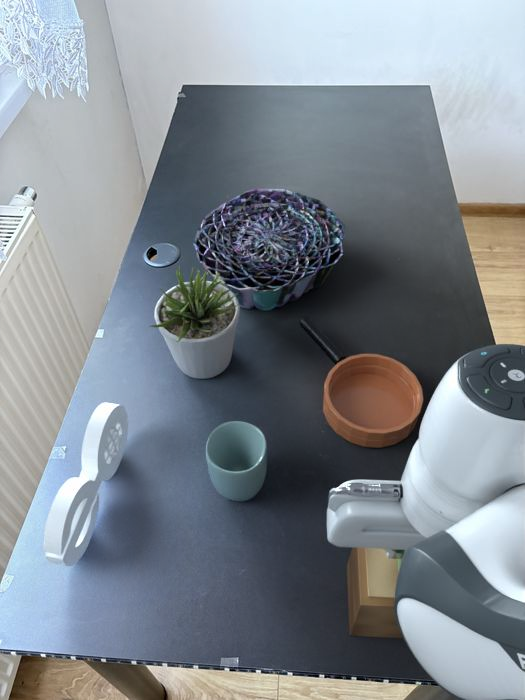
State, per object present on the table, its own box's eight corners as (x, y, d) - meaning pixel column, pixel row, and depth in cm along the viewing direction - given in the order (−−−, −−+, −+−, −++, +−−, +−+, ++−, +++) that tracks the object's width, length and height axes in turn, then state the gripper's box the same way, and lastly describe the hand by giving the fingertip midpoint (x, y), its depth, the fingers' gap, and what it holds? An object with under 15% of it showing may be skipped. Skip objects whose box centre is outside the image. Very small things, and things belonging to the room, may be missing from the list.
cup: (219, 454, 86) (214, 415, 78) (272, 463, 85) (272, 425, 77) (204, 503, 81) (198, 467, 73) (261, 514, 80) (260, 479, 72)
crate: (442, 571, 75) (466, 532, 65) (452, 640, 69) (480, 609, 60) (346, 567, 75) (356, 528, 66) (349, 635, 70) (361, 603, 61)
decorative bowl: (367, 272, 112) (376, 228, 105) (270, 349, 98) (273, 304, 90) (265, 216, 123) (268, 173, 116) (165, 277, 109) (160, 232, 102)
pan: (437, 420, 89) (443, 403, 85) (361, 466, 84) (365, 450, 81) (376, 358, 97) (380, 340, 93) (304, 397, 92) (305, 379, 88)
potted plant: (143, 369, 96) (119, 278, 80) (200, 318, 103) (187, 226, 87) (203, 408, 91) (189, 319, 75) (258, 352, 98) (255, 260, 82)
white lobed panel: (118, 428, 89) (103, 388, 81) (132, 430, 88) (119, 390, 81) (59, 574, 75) (34, 543, 67) (75, 577, 75) (52, 547, 67)
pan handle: (345, 362, 93) (347, 354, 91) (335, 368, 92) (336, 360, 91) (308, 322, 98) (309, 314, 97) (298, 327, 98) (299, 319, 96)
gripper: (331, 521, 48) (319, 579, 58) (590, 532, 47) (531, 589, 58) (329, 452, 52) (319, 518, 63) (568, 461, 51) (516, 526, 62)
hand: (422, 552), depth 60 cm, fingers closed on block, 4 cm apart
